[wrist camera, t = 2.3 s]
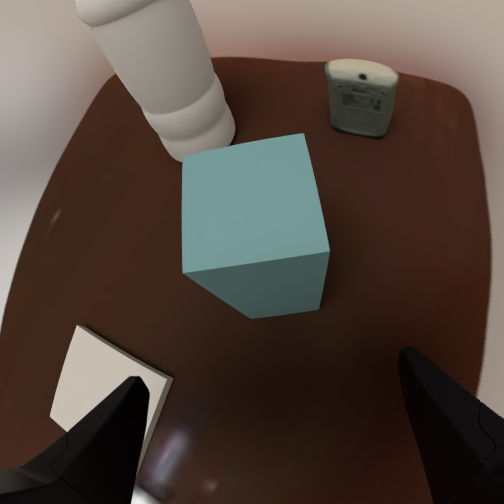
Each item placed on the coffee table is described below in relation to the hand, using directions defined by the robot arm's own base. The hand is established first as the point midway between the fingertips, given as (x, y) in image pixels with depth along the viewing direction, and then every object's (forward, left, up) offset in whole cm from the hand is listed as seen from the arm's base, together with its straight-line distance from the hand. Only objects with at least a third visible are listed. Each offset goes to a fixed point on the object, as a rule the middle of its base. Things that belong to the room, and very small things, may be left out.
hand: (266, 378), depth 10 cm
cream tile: (+13, +9, -12) cm, 20 cm away
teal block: (+3, -6, -12) cm, 14 cm away
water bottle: (+15, -17, -13) cm, 26 cm away
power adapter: (+1, -22, -13) cm, 25 cm away
